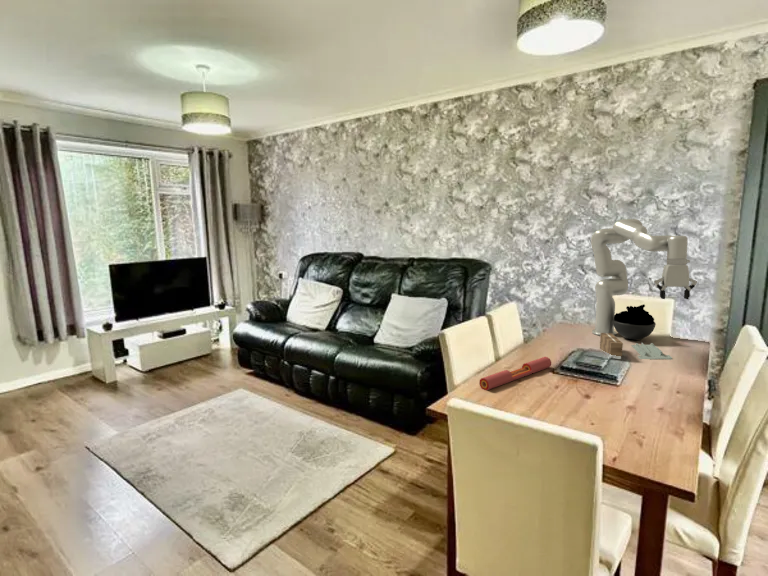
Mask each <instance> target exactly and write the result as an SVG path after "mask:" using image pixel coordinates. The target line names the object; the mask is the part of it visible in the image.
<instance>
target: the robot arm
mask: <svg viewBox="0 0 768 576" xmlns="http://www.w3.org/2000/svg"><path fill="white" fill-rule="evenodd" d="M590 239H591V241H590V244H591V248H592V251H593V255H594V257H593V258H594V264H595V265H594V266H595V271H596V274H597V276H598V277H602V278H605V279H600V280H598V281H597V282H596V283H595V287H594V289H595V295H596V297H595V298H596V303H595V304H596V305H595V326H594V329H592V330H591V334H593V335H595V336H600V337H601V333H612V334H613V335H614V336H615V337H616V336H617V333H618V332H617V331H616V330H615V327H614V325H613V319H614V316H615V314H616V302H615V299H614V297H613V296H622V295H625V294H626V293H627V292H628V290H629V281H628V273H627V268H626V265H625V263H624V262H623V261H622V260H619V259H612V252H611V249H609V247H608V246H607V244H609V245H610V244H623V243H625V242H626V241H628V240H630V241H633V243H634V245H635V246H636V247H638V248H640V249H642V250H644V251H648V252H667V253H666V264H665V265H664V266H663V269H662V274H661V277H660V278H658V279H656V280H653V283H654V284H655V287H656V288H658V290H659V297H660V299H662V300H665V299H666V289H667V288H671V287H672V288H675V287H676V288H683V289H684V291H683V292H684V293H683V299H686V300H689V298H690V296H691V293H690V292H691V291H692V290H693V289H694V288H695V286H697V283H698V281H697V280H695V279H694V278H691V277H690V272H689V266H688V265H687V264H688V263H690V262H691V260H690V259H688V258H687V255H688V236H686V235H669V234H668V235H666V234H665V235H650V234H649V233H648V229H647V227H645V226H644V225H643V223H642V222H641V220H639V219H635V218H629V219H628V218H623V219H618V220H617V221H616V222H614V224H613V225H612V228H601V229H598V230H596V231H594V232H593V234H592V236H591V238H590ZM607 277H608V278H607ZM609 277H611V278H609ZM660 282H661V285H660ZM690 282H691V284H690Z"/></svg>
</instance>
